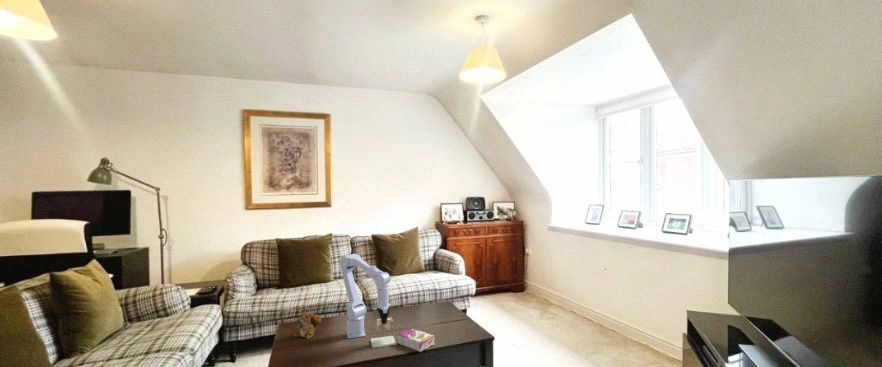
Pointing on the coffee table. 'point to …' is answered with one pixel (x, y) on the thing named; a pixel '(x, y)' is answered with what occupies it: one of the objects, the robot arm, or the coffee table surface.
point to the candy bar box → (416, 339)
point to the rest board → (383, 341)
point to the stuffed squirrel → (308, 325)
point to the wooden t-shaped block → (385, 326)
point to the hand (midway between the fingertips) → (383, 322)
